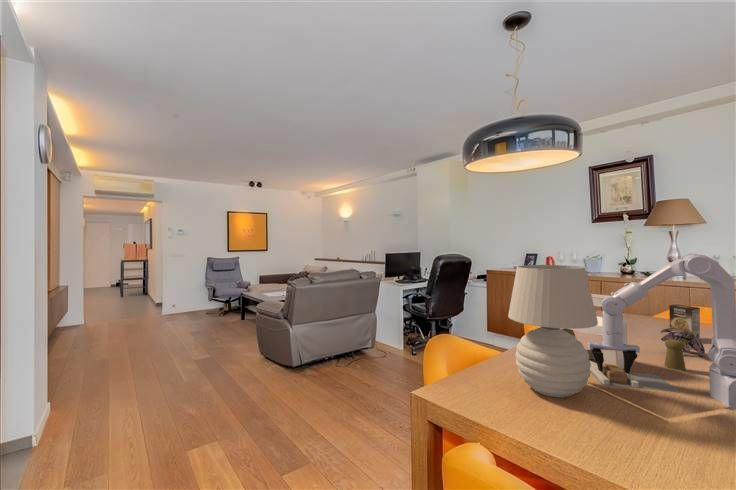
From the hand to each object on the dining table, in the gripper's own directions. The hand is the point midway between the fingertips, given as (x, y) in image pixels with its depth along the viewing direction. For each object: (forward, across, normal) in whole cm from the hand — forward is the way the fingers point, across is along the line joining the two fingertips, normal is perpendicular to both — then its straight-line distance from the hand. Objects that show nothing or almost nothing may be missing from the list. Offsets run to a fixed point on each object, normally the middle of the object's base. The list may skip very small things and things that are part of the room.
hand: (613, 371), depth 113 cm
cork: (+4, -26, -18) cm, 31 cm away
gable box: (+4, +2, -17) cm, 18 cm away
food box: (+4, -52, -64) cm, 82 cm away
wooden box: (+2, 0, 0) cm, 2 cm away
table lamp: (+4, +22, +12) cm, 25 cm away
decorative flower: (+4, -38, -38) cm, 55 cm away
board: (+3, -5, 0) cm, 6 cm away
